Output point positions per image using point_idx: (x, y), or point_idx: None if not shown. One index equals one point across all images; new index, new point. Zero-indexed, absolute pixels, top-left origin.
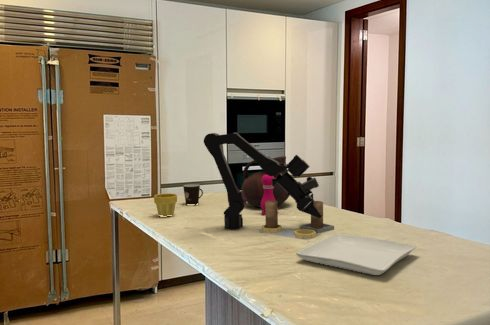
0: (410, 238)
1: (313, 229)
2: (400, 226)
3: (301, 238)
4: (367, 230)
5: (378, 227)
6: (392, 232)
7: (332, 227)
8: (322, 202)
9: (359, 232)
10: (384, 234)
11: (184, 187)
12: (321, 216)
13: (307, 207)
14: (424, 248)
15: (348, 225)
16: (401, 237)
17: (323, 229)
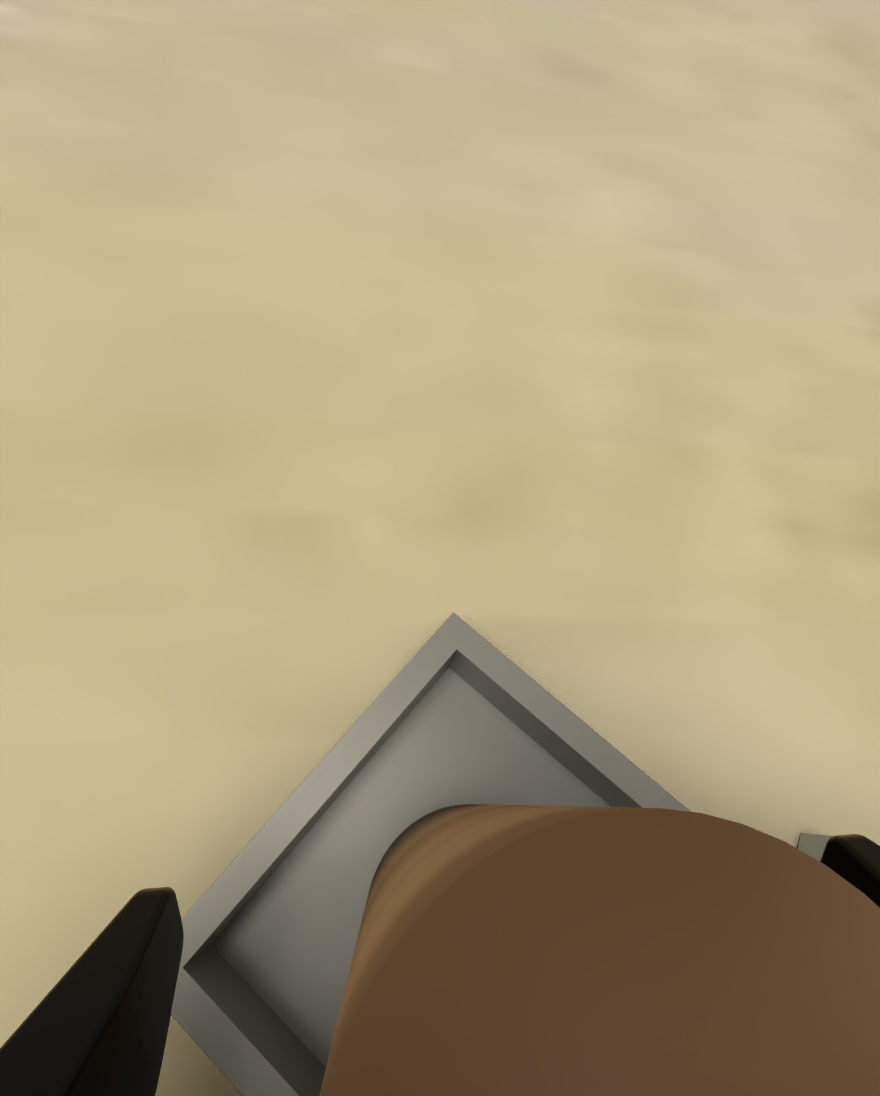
0: (561, 35)
1: None
2: (132, 15)
3: None
4: (309, 273)
5: (167, 168)
6: (375, 101)
7: (481, 645)
8: (716, 841)
9: (410, 353)
10: (461, 164)
11: None
12: (857, 840)
13: None
14: (814, 23)
15: (34, 443)
16: (543, 77)
17: (659, 793)
